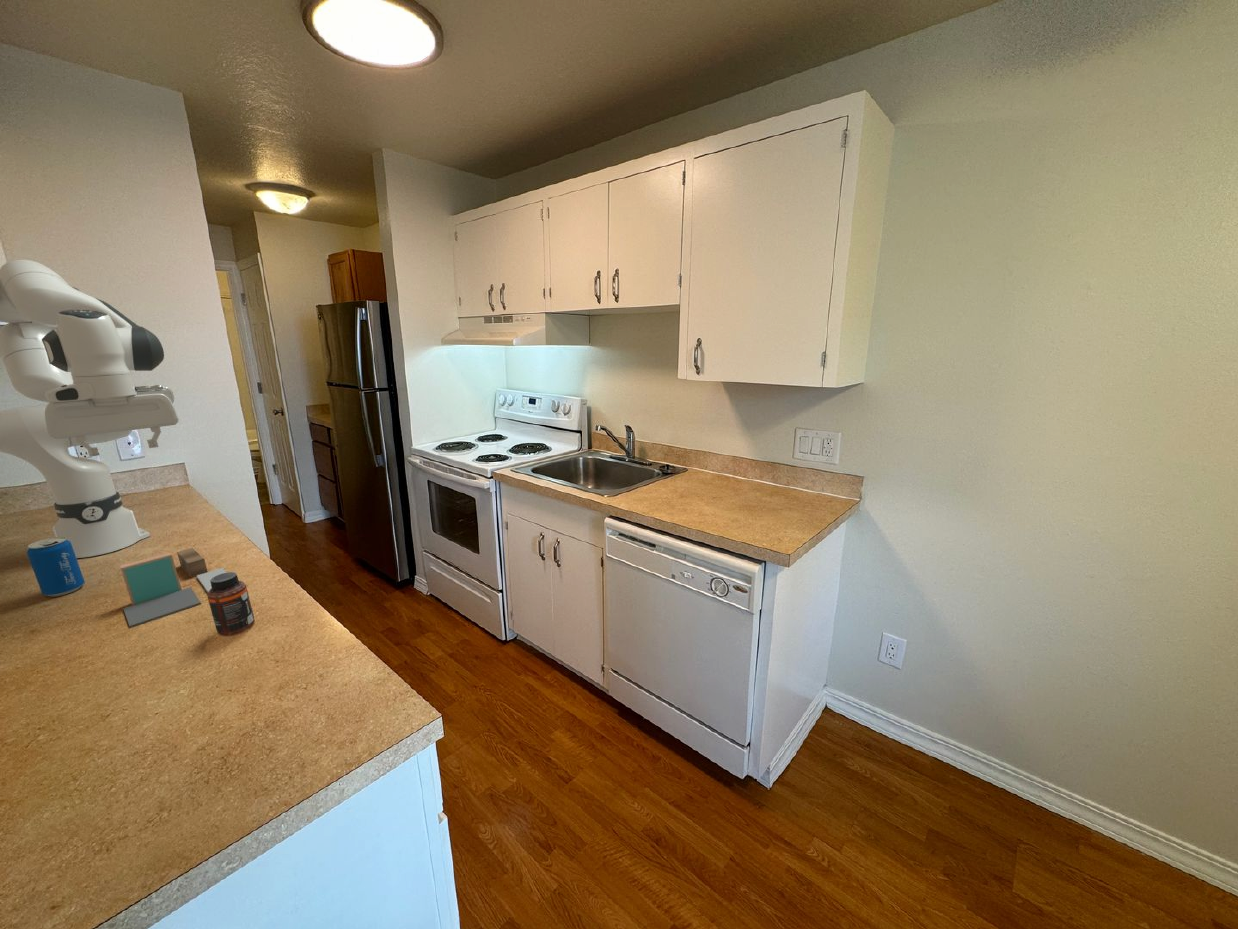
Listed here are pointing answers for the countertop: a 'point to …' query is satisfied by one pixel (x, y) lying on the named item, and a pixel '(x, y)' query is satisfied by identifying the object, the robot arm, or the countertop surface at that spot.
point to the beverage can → (55, 566)
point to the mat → (160, 606)
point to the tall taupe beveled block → (192, 562)
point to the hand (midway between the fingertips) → (125, 451)
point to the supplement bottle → (230, 604)
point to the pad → (209, 578)
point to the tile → (150, 578)
